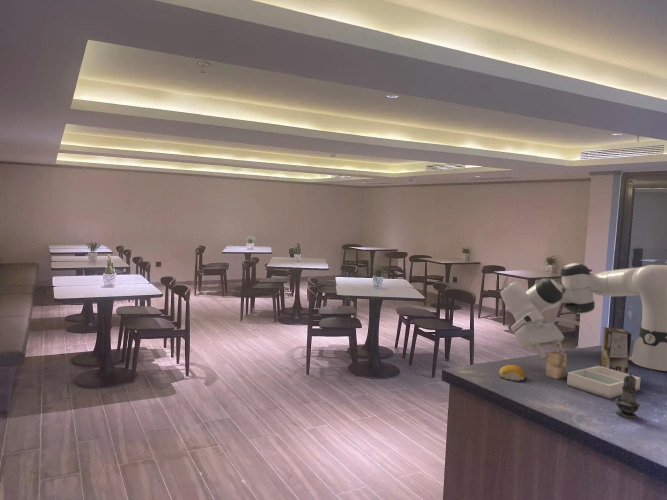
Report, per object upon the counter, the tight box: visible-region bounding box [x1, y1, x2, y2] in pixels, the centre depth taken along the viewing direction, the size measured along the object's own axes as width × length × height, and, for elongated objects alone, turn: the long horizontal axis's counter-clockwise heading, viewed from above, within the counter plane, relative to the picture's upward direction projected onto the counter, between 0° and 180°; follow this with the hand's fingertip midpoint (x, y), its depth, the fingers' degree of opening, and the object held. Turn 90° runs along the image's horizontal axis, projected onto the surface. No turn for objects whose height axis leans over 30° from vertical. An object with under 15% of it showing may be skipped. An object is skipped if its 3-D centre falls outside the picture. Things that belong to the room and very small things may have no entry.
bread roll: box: [498, 364, 526, 382], centre depth 164 cm, size 8×9×4 cm
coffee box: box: [599, 326, 633, 374], centre depth 172 cm, size 9×6×16 cm
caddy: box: [566, 365, 641, 400], centre depth 158 cm, size 18×14×4 cm
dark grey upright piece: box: [615, 372, 641, 420], centre depth 135 cm, size 6×6×12 cm
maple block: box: [545, 350, 568, 379], centre depth 167 cm, size 5×4×8 cm
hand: (553, 355), depth 168 cm, fingers open, 8 cm apart
